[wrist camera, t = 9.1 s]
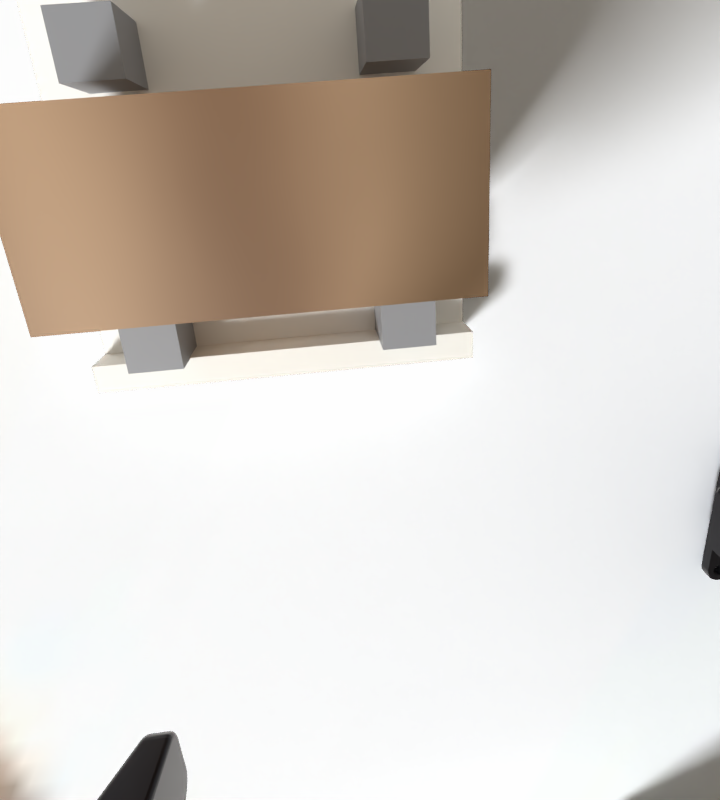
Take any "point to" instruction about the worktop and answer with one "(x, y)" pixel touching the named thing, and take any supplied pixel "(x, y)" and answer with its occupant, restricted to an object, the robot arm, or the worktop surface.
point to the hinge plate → (238, 67)
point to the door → (246, 200)
